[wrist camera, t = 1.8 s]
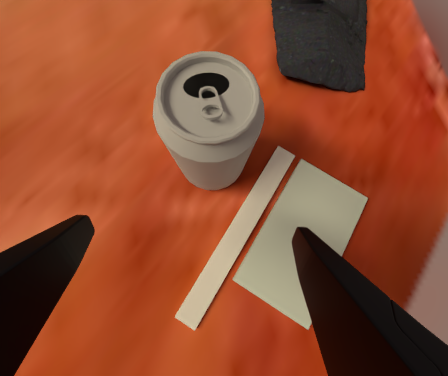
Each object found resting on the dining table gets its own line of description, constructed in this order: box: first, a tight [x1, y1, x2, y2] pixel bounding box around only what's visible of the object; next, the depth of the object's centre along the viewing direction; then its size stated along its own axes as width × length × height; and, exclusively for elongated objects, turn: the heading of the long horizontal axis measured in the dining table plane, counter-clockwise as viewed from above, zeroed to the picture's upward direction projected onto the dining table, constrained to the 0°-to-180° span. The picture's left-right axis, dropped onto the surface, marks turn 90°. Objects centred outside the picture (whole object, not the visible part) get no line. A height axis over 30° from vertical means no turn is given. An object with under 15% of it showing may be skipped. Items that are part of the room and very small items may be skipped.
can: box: [153, 51, 265, 190], centre depth 17 cm, size 8×8×12 cm
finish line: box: [175, 146, 295, 331], centre depth 21 cm, size 22×2×1 cm, turn 148°
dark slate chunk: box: [271, 0, 367, 92], centre depth 25 cm, size 15×22×5 cm
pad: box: [233, 159, 368, 329], centre depth 21 cm, size 16×9×1 cm, turn 148°
